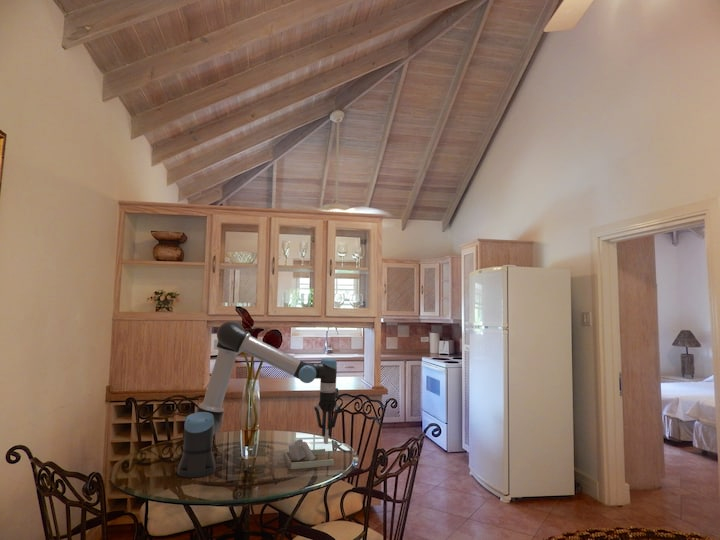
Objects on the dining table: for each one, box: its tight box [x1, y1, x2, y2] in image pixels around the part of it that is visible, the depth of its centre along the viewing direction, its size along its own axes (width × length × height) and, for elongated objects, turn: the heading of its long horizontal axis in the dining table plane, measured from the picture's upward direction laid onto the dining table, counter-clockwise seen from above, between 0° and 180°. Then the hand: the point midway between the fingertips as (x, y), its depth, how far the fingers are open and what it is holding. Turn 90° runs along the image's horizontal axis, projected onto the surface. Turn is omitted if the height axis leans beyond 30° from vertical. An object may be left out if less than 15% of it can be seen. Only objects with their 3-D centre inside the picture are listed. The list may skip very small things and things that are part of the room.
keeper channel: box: [283, 448, 335, 470], centre depth 201 cm, size 20×18×3 cm
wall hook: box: [287, 438, 316, 462], centre depth 202 cm, size 8×10×10 cm
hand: (325, 443), depth 205 cm, fingers closed
